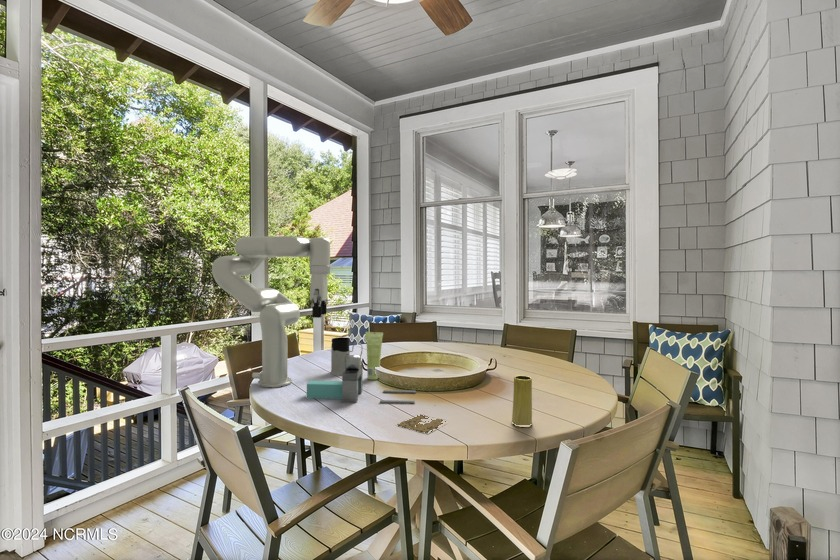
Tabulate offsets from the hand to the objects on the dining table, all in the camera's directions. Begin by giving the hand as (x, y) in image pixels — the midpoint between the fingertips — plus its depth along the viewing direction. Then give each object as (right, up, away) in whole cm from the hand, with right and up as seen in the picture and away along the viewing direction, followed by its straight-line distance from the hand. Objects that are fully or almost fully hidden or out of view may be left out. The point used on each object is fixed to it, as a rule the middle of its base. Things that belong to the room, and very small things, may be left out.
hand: (319, 315), depth 164 cm
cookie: (+39, -30, -33) cm, 59 cm away
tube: (+19, -28, +17) cm, 38 cm away
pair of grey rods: (+30, -29, -8) cm, 42 cm away
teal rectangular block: (+6, -28, -8) cm, 30 cm away
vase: (+69, -30, -33) cm, 82 cm away
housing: (+14, -28, -8) cm, 33 cm away
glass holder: (+6, -27, +25) cm, 38 cm away
